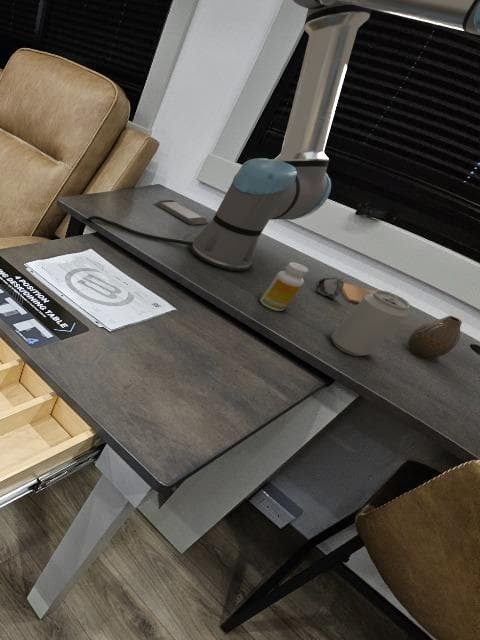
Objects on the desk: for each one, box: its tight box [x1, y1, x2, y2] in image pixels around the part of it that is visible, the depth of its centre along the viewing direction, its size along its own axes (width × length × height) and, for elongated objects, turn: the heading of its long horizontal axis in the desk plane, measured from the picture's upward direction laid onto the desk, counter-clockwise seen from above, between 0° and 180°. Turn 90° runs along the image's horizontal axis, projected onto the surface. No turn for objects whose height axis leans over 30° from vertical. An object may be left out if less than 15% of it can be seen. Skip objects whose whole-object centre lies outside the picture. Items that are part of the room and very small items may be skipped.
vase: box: [407, 315, 463, 359], centre depth 94 cm, size 7×7×9 cm
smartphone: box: [156, 199, 209, 226], centre depth 139 cm, size 7×1×15 cm
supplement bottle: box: [259, 261, 309, 312], centre depth 100 cm, size 5×5×10 cm
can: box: [331, 289, 411, 357], centre depth 90 cm, size 8×8×12 cm
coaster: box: [341, 282, 375, 305], centre depth 114 cm, size 10×10×1 cm
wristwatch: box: [315, 276, 345, 298], centre depth 110 cm, size 3×5×5 cm
